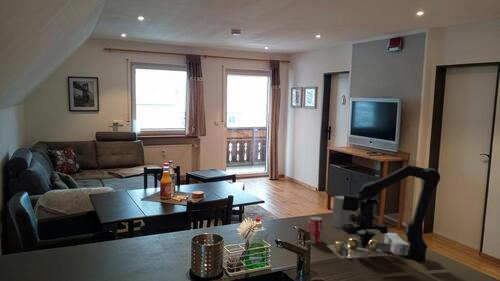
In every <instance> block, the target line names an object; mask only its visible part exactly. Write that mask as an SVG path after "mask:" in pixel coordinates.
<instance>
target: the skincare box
mask: <svg viewBox="0 0 500 281" xmlns="http://www.w3.org/2000/svg"><path fill="white" fill-rule="evenodd" d="M343 200H344V195H338V196H333V205H332V207H333V208H332V222H331V223H332V227H336V228H338V229H340V230H343V226H344V224H352V222H350V221H349V215H350V214H353V211H347V210H342V209H343Z"/></svg>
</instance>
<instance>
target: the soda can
mask: <svg viewBox="0 0 500 281" xmlns="http://www.w3.org/2000/svg"><path fill="white" fill-rule="evenodd" d="M306 227H307V228H306V229H307V230H306V232H307V231H309V232H310V233H311V243H310V244H313V245H320V244H322V243H323V235H324V234H323V233H324V232H323V231H324V221H323V217H321V216H317V215H316V216H315V215H312V216H309V217H308V220H307V226H306Z"/></svg>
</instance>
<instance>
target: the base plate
mask: <svg viewBox="0 0 500 281" xmlns="http://www.w3.org/2000/svg"><path fill="white" fill-rule="evenodd" d="M344 246H345V247H346V248H347V249H348V250H349V251H348V256H345V255H343V254H342V253H341V252H337V251H335V250H334V247H335V244H330V245H329V244H326V247H327V248H329V250H331V251H332V252H333V253H334V254H335V255H336V256H337V257H338V258H339V259H353V258H357V259H358V258H371V257H388V255H389V254H387V253H385V251H384V250H381V249H377V250H370V249H369V250H368V249H363V248H358V247H357V248H350V247H348V243H346V244H345V243H344Z"/></svg>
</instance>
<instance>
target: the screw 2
mask: <svg viewBox="0 0 500 281" xmlns="http://www.w3.org/2000/svg"><path fill="white" fill-rule="evenodd" d="M369 243H370V250H377V249H380V250H381V251H385V252H386V251H387V252H390V251H391V250H390V244H388V243H384V242H381V241H378V240H377V239H374V238H372V239H371V240H370V241H369Z"/></svg>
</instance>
